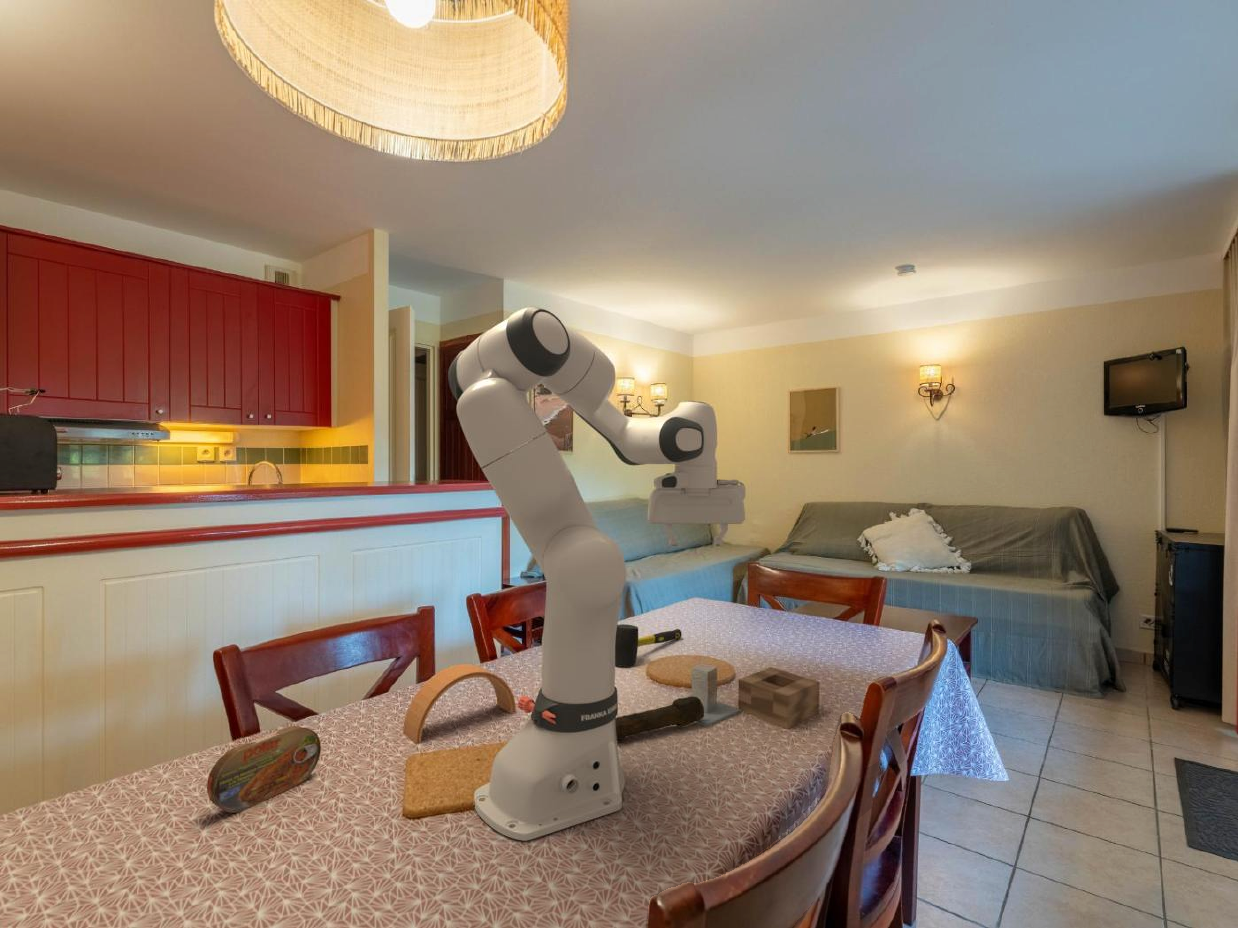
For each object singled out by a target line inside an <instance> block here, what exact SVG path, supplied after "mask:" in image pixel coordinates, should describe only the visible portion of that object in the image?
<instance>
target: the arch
mask: <svg viewBox="0 0 1238 928" xmlns="http://www.w3.org/2000/svg"><path fill="white" fill-rule="evenodd" d="M471 678H484V679H485V678H486V679H487V680H488V681H489V682H490V684H491V685H492V688H493V689H494V692H495V697H496V705H497V706H498V707H499V708H501V709H503V710H505V711H506V712H507V713H510V714H513V713H516V712H517V706H516V700H515V696H514V694H513V691H512V689H511V688H510V685H508V683H507V682H506V681H505V680H504V679H502V677H500V676H498V675H497V674H495V673H493V672H491V671H489V670H487V669H485V668H483V667H481V666H479V665H476V664H470V663H469V664H467V663H463V664H454V665H452V666H448V667H446V668H444V669H442V670H441V671H438V672H437V673H436V674H434V675H433V676H431V677H430V678H429V679H428V680H427V681H425V683H424V684H423V685H422V686H421V687H420V689H418V691H417V692H416V693H415V695H414V696H413V699H412V700H411V703H410V704H409V706H408V709H407V710H406V714H405V716H404V717H405V718H404V722H403V727H402V733H403V734H404V735H405V736H406V737H407V738H408V739H410V740H411V741H412V742H414V744H416V745H417V744H419V743H422V736H423V729H424V726H425V723H426V720H427V718H428V716H429V714H430V711H431V710H432V708H433V706H434V705H435V704H436V702H438V700H439V699H440V697H442V695H444V694H445V692H447V691H448V690H449V689H451V688H452V687H453V686H454V685H456V684H458V683H460V682H462V681H464V680H469V679H471Z"/></svg>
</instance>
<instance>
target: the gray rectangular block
mask: <svg viewBox="0 0 1238 928" xmlns="http://www.w3.org/2000/svg"><path fill="white" fill-rule="evenodd" d="M692 696H694V697H697V698H699V699H700V700H701V703H702V705H703V707H704V713H706V714H708V713H710V712H711V711H713V710H714V709H716V708H717V701H718V667H717V666H713V665H709V664H705V663H699V664H697V665H695V666H693V667H691V695H690V697H692Z"/></svg>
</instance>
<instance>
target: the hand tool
mask: <svg viewBox="0 0 1238 928" xmlns="http://www.w3.org/2000/svg"><path fill="white" fill-rule="evenodd" d="M703 717H704V707H703V705H702V703H701V700H700V699H699V698H697V697H694V696H692V697H691V696H687V697H682V698H676V699H674V700H673V702H672V704H669V705H666V706H663V707H658V708H653V709H649V710H645V711H641V712H634V713H631V714H627V715H622V716H616V717H615V723H616V737H617V742H618V741H619V740H624V741H625V740H626V739H627V737H632V736H635V735H638V734H639V735H640V734H643V733H647V732H652V731H656V730H660V729H663V728H667V727H670V726H676V727H679V728H684V727H687V726H690V725H692V724H694V723H697V722H696V721H698V720H700V719H702V718H703Z"/></svg>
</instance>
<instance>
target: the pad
mask: <svg viewBox="0 0 1238 928" xmlns="http://www.w3.org/2000/svg"><path fill="white" fill-rule="evenodd" d="M741 712H742V711H741V709H738V707H735V706H733V705H730V704H727V703H726V702H722V701H720V700H717V708H716V709H714V710H713V711H711V712H710V713H708V714H706V713H704V717H703V718H702V719H700V720H698V721H696V722H695V723H698V724H700V725H702V726H705V727H707V728H708V727H710V726H713V725H714V724H717V723H720V722H721V721H724V720H727V719H729V718H731V717H733V716H735V715H738V714H739V713H741Z"/></svg>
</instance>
